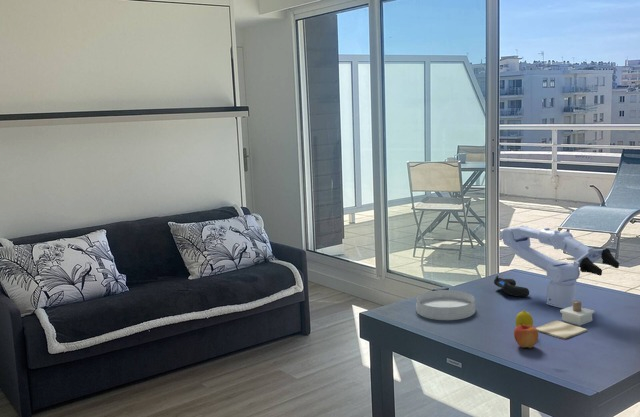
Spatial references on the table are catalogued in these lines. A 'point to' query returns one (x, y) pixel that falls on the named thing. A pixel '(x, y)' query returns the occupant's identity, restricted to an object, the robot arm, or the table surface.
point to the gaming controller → (511, 287)
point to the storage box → (576, 319)
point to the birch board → (560, 329)
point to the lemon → (524, 319)
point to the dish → (445, 305)
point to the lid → (577, 310)
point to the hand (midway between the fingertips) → (609, 269)
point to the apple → (526, 335)
